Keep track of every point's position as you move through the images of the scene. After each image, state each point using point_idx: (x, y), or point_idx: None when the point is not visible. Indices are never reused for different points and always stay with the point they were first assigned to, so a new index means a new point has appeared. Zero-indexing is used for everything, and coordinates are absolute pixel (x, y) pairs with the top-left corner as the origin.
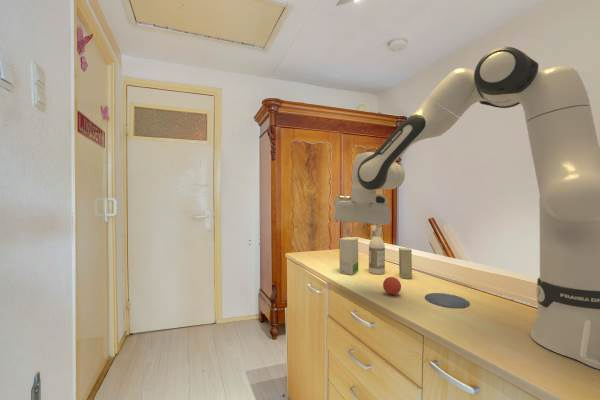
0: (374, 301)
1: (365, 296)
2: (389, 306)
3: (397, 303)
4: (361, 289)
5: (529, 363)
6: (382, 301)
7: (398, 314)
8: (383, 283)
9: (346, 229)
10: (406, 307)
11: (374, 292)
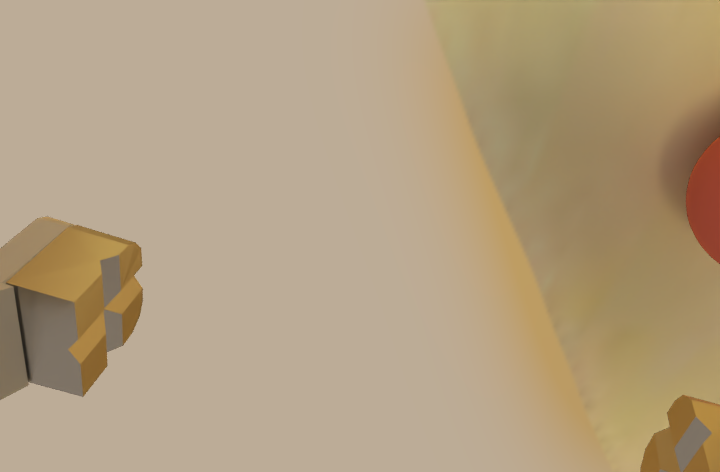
0: (539, 284)
1: (506, 192)
2: (607, 364)
3: (692, 332)
4: (524, 24)
5: None
6: (598, 290)
7: (605, 454)
8: (694, 195)
9: (11, 371)
10: (715, 392)
11: (618, 109)
